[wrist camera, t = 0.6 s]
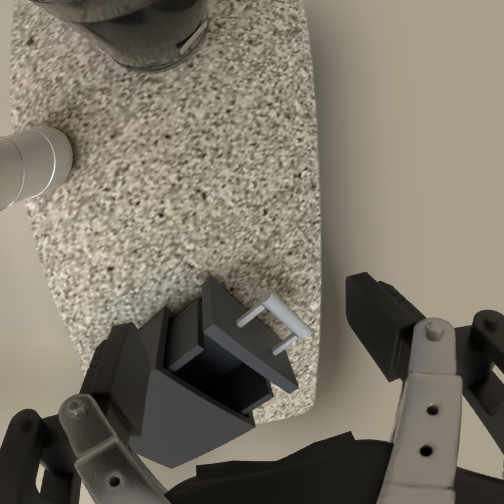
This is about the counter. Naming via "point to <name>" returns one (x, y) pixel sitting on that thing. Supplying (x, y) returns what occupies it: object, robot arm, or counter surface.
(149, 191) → the counter surface
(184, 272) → the counter surface
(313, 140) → the counter surface
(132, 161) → the counter surface
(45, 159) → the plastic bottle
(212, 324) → the cabinet drawer
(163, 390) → the grey handled drawer box
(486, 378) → the robot arm
